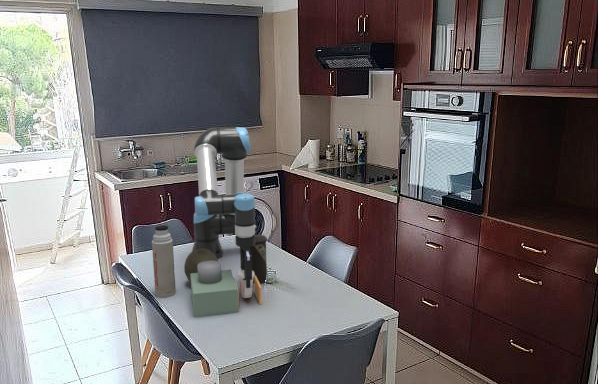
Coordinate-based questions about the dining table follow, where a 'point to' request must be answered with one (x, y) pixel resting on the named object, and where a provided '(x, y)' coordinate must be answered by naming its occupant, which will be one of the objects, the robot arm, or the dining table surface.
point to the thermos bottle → (163, 262)
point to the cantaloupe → (197, 260)
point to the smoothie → (241, 277)
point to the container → (259, 258)
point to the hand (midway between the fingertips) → (246, 291)
